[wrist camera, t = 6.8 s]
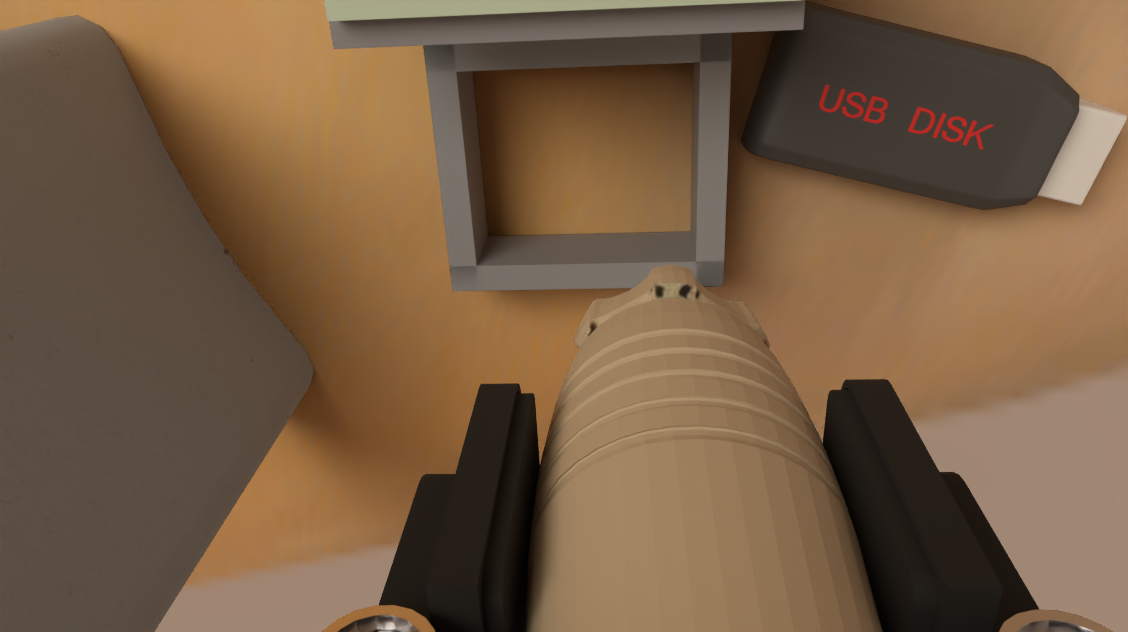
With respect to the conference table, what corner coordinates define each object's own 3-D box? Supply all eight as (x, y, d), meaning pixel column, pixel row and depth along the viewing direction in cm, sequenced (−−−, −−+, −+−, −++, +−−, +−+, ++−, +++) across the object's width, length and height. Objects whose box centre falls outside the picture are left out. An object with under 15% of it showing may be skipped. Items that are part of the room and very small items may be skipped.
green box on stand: (770, -242, 26) (832, -296, 18) (746, 254, 34) (783, 369, 26) (376, -215, 27) (273, -256, 19) (436, 260, 35) (379, 372, 27)
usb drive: (785, -5, 30) (799, 5, 27) (1112, 76, 30) (1155, 93, 28) (738, 139, 32) (748, 160, 30) (1043, 212, 33) (1076, 238, 30)
